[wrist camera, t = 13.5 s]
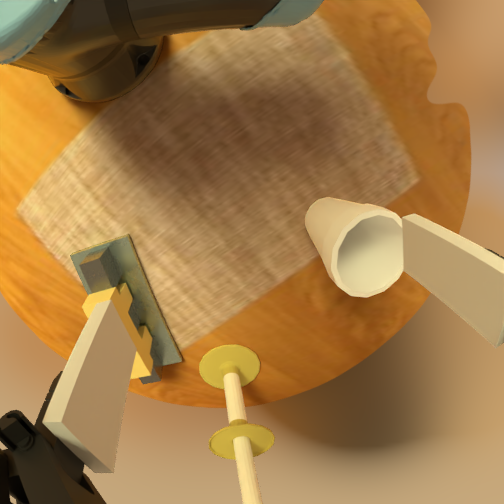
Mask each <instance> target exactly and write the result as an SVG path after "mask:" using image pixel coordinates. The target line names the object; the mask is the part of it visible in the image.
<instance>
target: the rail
mask: <svg viewBox="0 0 504 504" xmlns="http://www.w3.org/2000/svg"><path fill="white" fill-rule="evenodd" d="M70 256H71V259H72V261H73V263H74V266H75V268H76V270H77V272H78V275H79V277H80V279H81V281H82V283H83V285H84V288H85V290H86V292H87V294H88V296H89V294H93V293H96V292H100V291H103V290H107V289H110V288H114V287H116V286H117V285H120V284H123V283H126V284H127V287H128V289H129V291H130V293H131V296H132V298H133V300H132V303H131V305H130V308H129V311H128V314H129V316H130V318H131V320H132V322H133V324H134V326H135V327H136V329H137V331H138V328H139V327H141V326H145V325H146V327H147V329H148V331H149V333H150V335H151V337H152V344H151V349H150V356H151V358H152V359H153V365H152V372H151V375H150V376H145V377H139V379H140V380H141V382H142V383H143V384H147V383H152V382H157V381H161V377H162V368H163V366H164V365H169V364H173V363H178V362H182V356H181V354H180V352H179V350H178V348H177V346H176V344H175V342H174V340H173V337H172V335H171V333H170V331H169V329H168V327H167V325H166V322H165V320H164V318H163V316H162V314H161V311H160V309H159V307H158V305H157V302H156V300H155V298H154V296H153V293H152V291H151V288H150V286H149V284H148V281H147V279H146V276H145V274H144V272H143V269H142V267H141V264H140V262H139V259H138V256H137V254H136V251H135V249H134V246H133V243H132V241H131V238H130V235H129V234H127V235H124V236H121V237H118V238H115V239H112V240H109V241H106V242H103V243H100V244H97V245H94V246H91V247H88V248H85V249H82V250H80V251H77V252H74V253H72V254H71V255H70Z"/></svg>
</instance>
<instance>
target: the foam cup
mask: <svg viewBox="0 0 504 504" xmlns="http://www.w3.org/2000/svg"><path fill="white" fill-rule="evenodd" d="M305 227H306V229H307V232H308V234H309V236H310V238H311V240H312V242H313V243H314V245H315V247H316V249H317V251H318V253H319V254H320V256H321V258H322V261H323V263H324V265H325V268H326V270H327V272H328V275H329V277H330V278H331V279H332V280H333V281H334V283H335V284H336V285H337V286H338V287H339V288H341V289H342V290H343V291H345V292H346V293H347V294H349V295H350V296H355V297H367V298H368V297H370V296H373V295H376V294H378V293H381V292H384V291H385V290H386V289H387V288H389V287H390V286H391V285H392V284H393V283H394V282H395V281H396V280H398V279H399V277H400V275H401V274H402V272H403V232H402V219H401V218H400V217H399V216H398V215H397V214H396V213H394V212H392V211H390V210H388V209H386V208H384V207H380V206H377V205H373V204H369V203H366V204H360V203H356V202H351V201H346V200H342V199H337V198H332V197H325V198H321V199H318V200H317V201H315V202H314V203H313V204H312V205H311V206H310V207H309V209H308V211H307V213H306V215H305Z"/></svg>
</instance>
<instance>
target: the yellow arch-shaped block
mask: <svg viewBox="0 0 504 504" xmlns="http://www.w3.org/2000/svg"><path fill="white" fill-rule="evenodd" d="M108 300H112V302H113V304H114V306H115V308H116V310H117V312H118V314H119V316H120V318H121V320H122V322H123V324H124V326H125V328H126V330H127V332H128V334H129V336H130V337H131V339H132V341H133V343H134V345H135V347H136V348H137V351H136V355H135V359H134V364H133V368H132V373H131V377H130V379H134V378H139V377H145V376H150V375H151V372H152V365H153V359H152V358H151V356H150V349H151V344H152V337H151V335H150V333H149V331H148V329H147V327H146V325H145V326H141V327H139V328H138V331H137V329H136V327H135V326H134V324H133V322H132V320H131V318H130V316H129V314H128V311H129V308H130V305H131V303H132V300H133V298H132V296H131V293H130V291H129V289H128V287H127V284H126V283H123V284H120V285H117V286H116V287H114V288H110V289H107V290H103V291H100V292H96V293H93V294H89V296H88V297H87V299H86V301H85V302H84V304H83V306H82V308H83V310H84V312H85V314H86V316H87V318H88V319H89V317H90V315H91V313H92V311H93V309H94V307H95V305H96V304H97V303H100V302H104V301H108Z"/></svg>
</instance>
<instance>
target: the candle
mask: <svg viewBox="0 0 504 504" xmlns="http://www.w3.org/2000/svg"><path fill="white" fill-rule="evenodd" d="M199 369H200V375H201V376H202V378H203V379H204V381H205V382H207V383H208V384H210V385H211V386H213V387H217V388H221V389H225V396H226V404H227V411H228V419H229V426H228V427H225V428H222V429H221V430H219V431H217V432H215V433H214V434H213V435H212V437H211V438H210V439H209V449H210V450H211V451H212V452H213V453H214V454H215V455H217V456H220V457H222V458H227V459H236V464H237V470H238V476H239V482H240V488H241V494H242V500H243V504H263V502H262V498H261V493H260V489H259V484H258V479H257V474H256V469H255V464H254V459H253V457H255V456H258V455H260V454H262V453H264V452H265V451H267V450H268V449H269V448H270V447H271V446H272V445H273V444H274V439H275V437H274V435H273V433H272V431H271V430H270V429H268V428H266V427H264V426H262V425H256V424H248V421H247V416H246V411H245V405H244V400H243V395H242V389H241V387H242V386H245V385H247V384H248V383H250V382H251V381H253V380H254V379H255V377H256V376H257V374H258V373H259V370H260V361H259V358H258V356H257V354H256V353H255V352H253V351H252V350H251V349H249V348H248V347H244V346H241V345H238V344H229V345H222V346H219V347H216V348H213V349H211V350H210V351H209V352H207V353H206V354H205V355H204V356H203V358H202V360H201V361H200V363H199Z"/></svg>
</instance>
